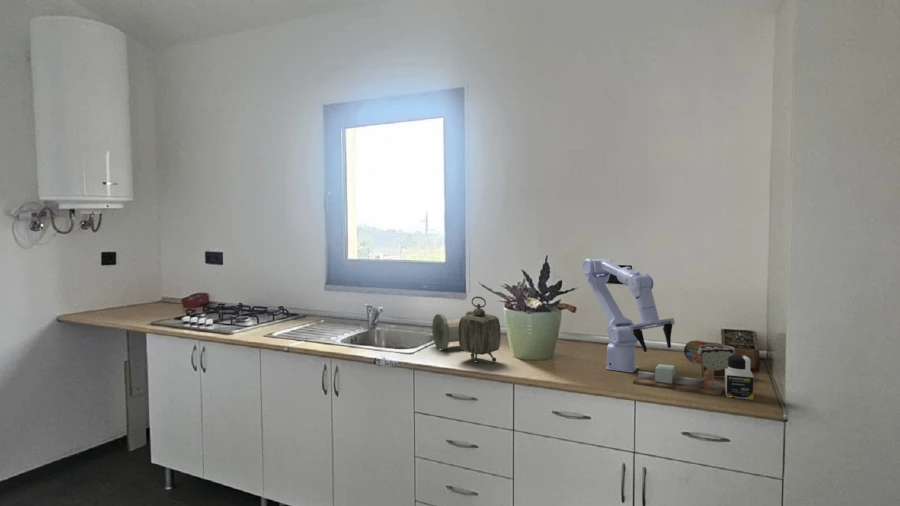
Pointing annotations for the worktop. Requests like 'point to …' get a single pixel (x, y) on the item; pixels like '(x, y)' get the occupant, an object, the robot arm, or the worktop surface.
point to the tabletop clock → (479, 332)
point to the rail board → (684, 383)
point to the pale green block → (664, 373)
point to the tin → (695, 350)
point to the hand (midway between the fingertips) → (657, 349)
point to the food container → (715, 358)
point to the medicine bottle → (739, 377)
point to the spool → (445, 330)
